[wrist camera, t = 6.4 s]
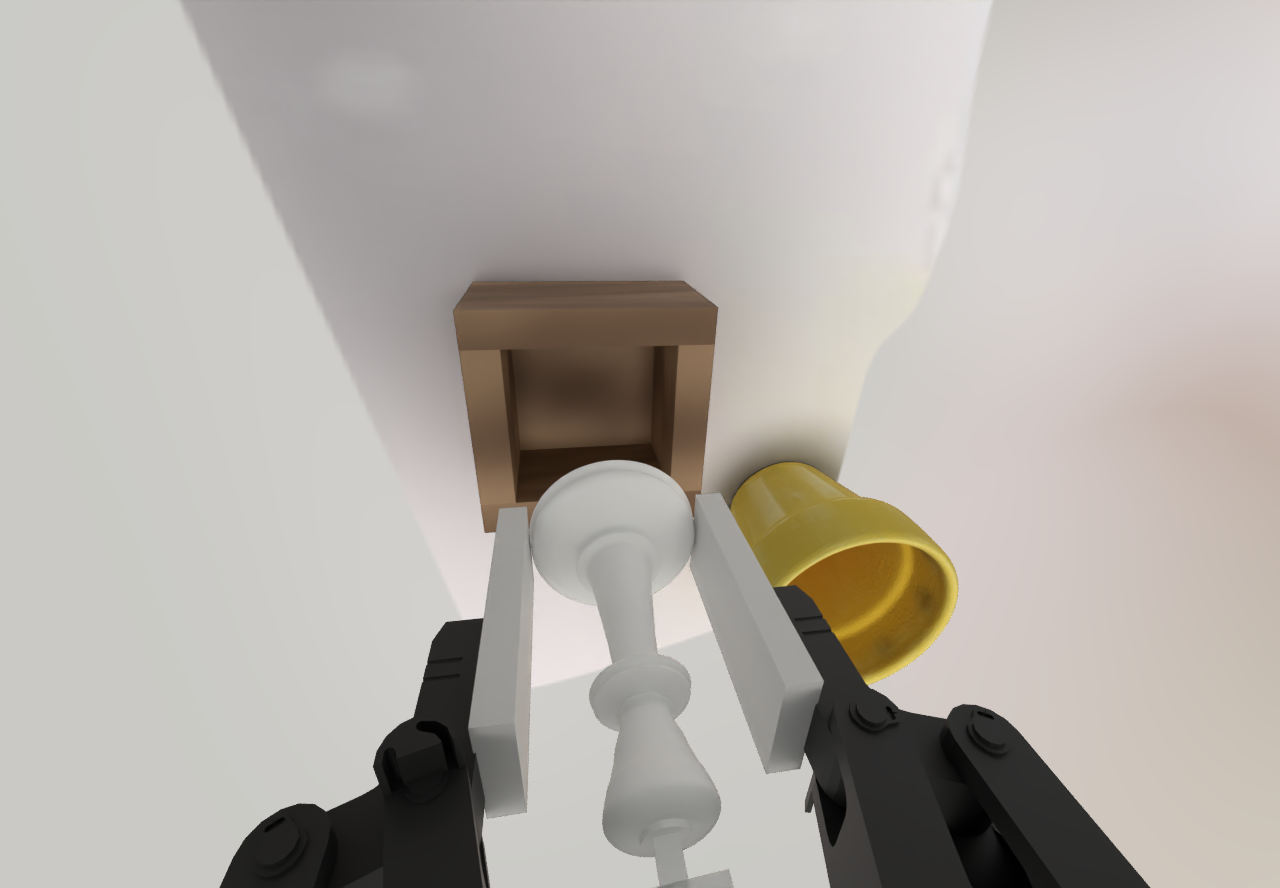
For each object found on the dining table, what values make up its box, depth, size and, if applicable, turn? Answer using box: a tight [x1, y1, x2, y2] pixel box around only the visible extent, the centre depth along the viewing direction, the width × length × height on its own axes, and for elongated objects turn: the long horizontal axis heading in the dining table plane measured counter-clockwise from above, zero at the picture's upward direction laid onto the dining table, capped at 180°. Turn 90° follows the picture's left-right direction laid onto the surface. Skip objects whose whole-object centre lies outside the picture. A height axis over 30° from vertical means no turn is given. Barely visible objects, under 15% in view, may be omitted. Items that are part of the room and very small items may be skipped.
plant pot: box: [730, 462, 958, 685], centre depth 29 cm, size 10×10×10 cm
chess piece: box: [529, 460, 734, 888], centre depth 11 cm, size 5×5×10 cm
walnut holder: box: [453, 281, 718, 533], centre depth 24 cm, size 10×10×6 cm
